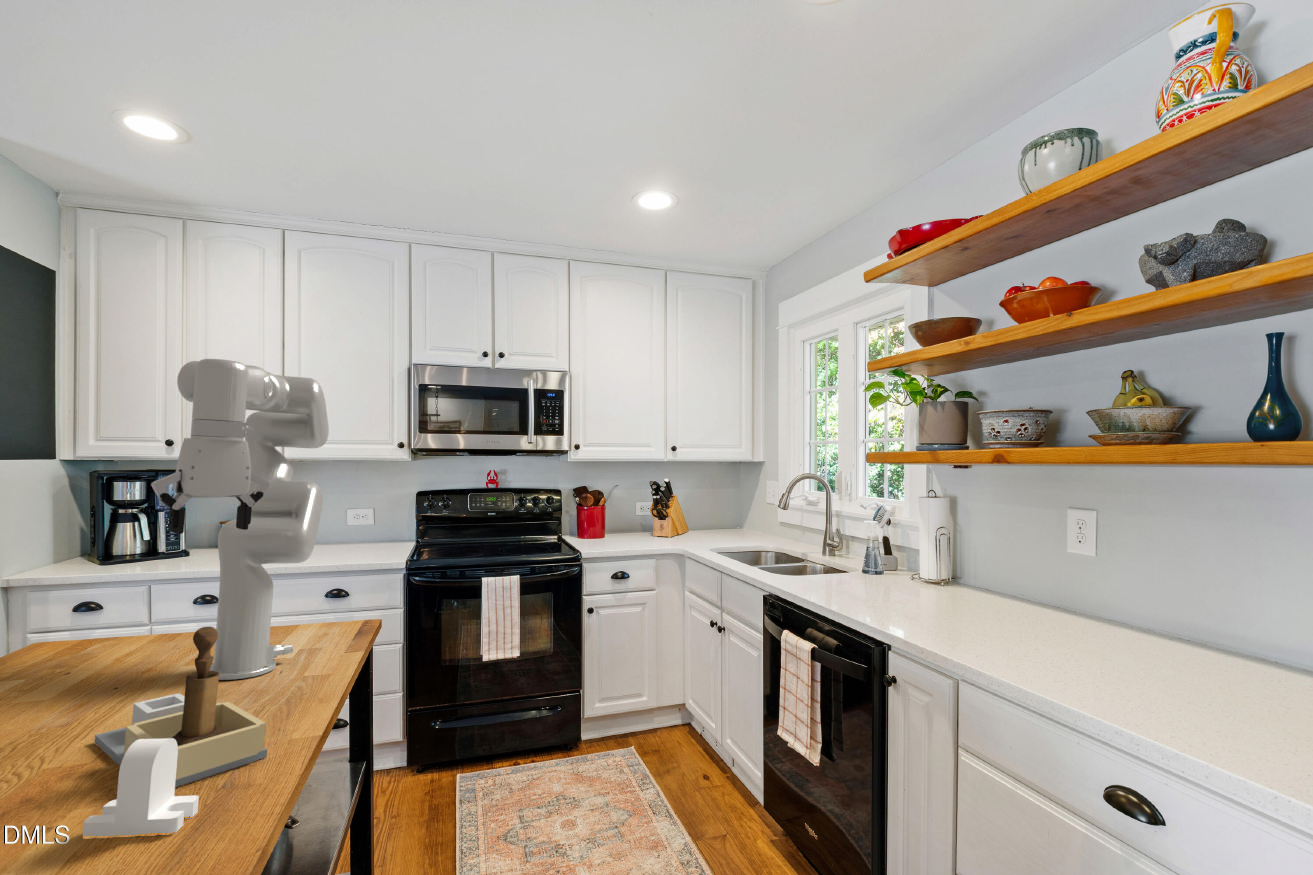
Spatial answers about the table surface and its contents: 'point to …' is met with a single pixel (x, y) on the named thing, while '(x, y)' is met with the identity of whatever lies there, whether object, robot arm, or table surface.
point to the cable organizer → (145, 794)
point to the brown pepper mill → (200, 693)
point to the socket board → (196, 757)
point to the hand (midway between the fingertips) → (210, 530)
